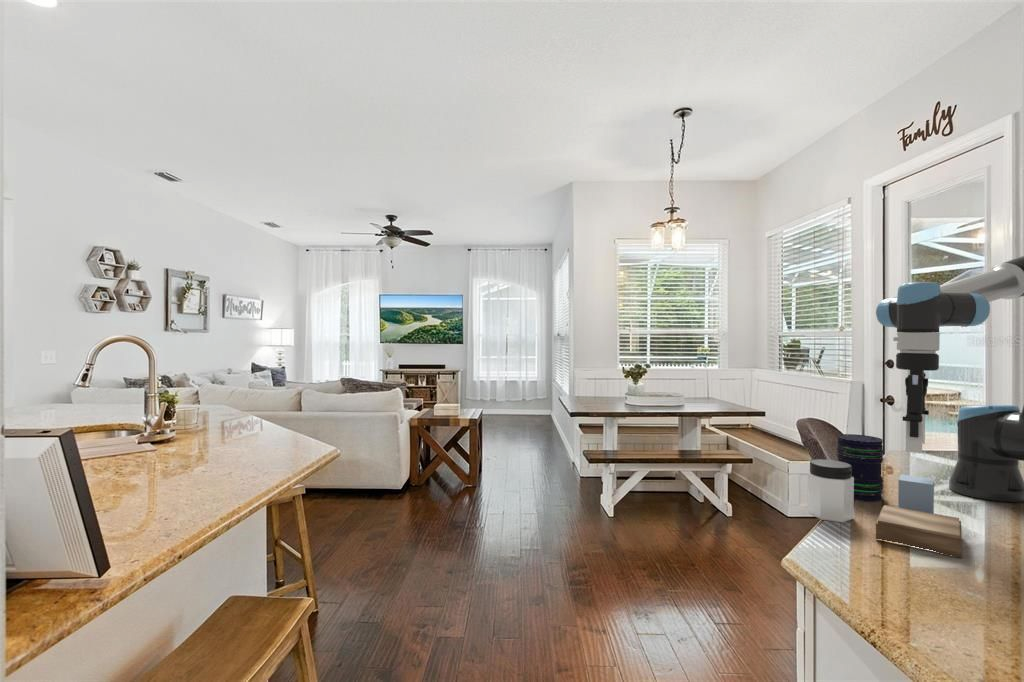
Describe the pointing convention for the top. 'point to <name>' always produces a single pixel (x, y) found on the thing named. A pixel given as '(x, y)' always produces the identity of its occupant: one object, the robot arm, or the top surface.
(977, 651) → the top surface
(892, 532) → the base block
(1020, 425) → the robot arm
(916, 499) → the slate block
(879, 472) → the dark blue upright cylinder
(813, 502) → the jar
